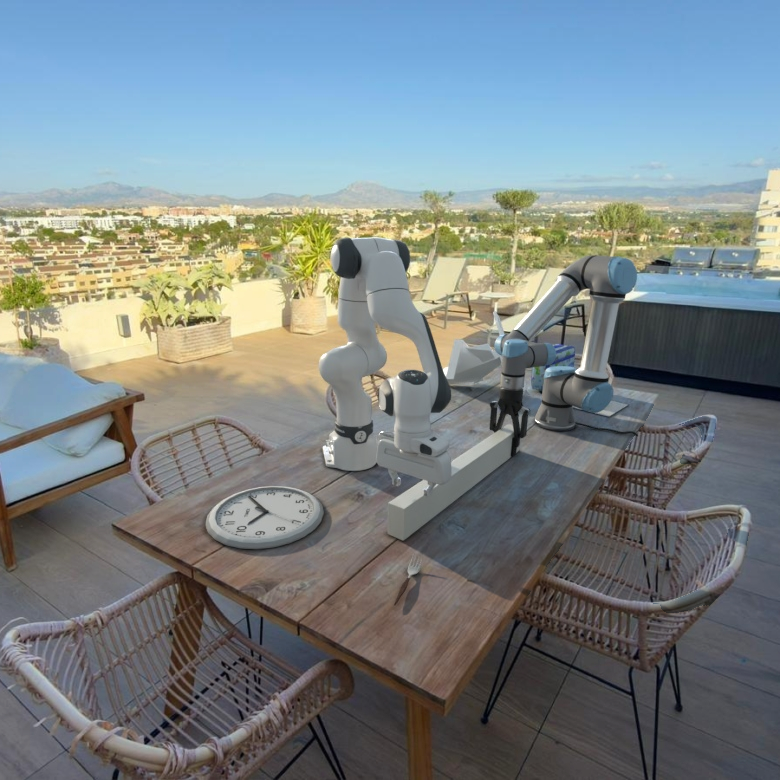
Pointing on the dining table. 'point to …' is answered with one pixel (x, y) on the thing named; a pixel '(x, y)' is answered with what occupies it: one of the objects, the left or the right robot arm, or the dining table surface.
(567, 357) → the lunch box
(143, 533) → the dining table surface
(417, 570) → the fork
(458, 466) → the post
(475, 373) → the white plastic object
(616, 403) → the invitation card
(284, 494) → the wall clock
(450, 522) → the dining table surface
